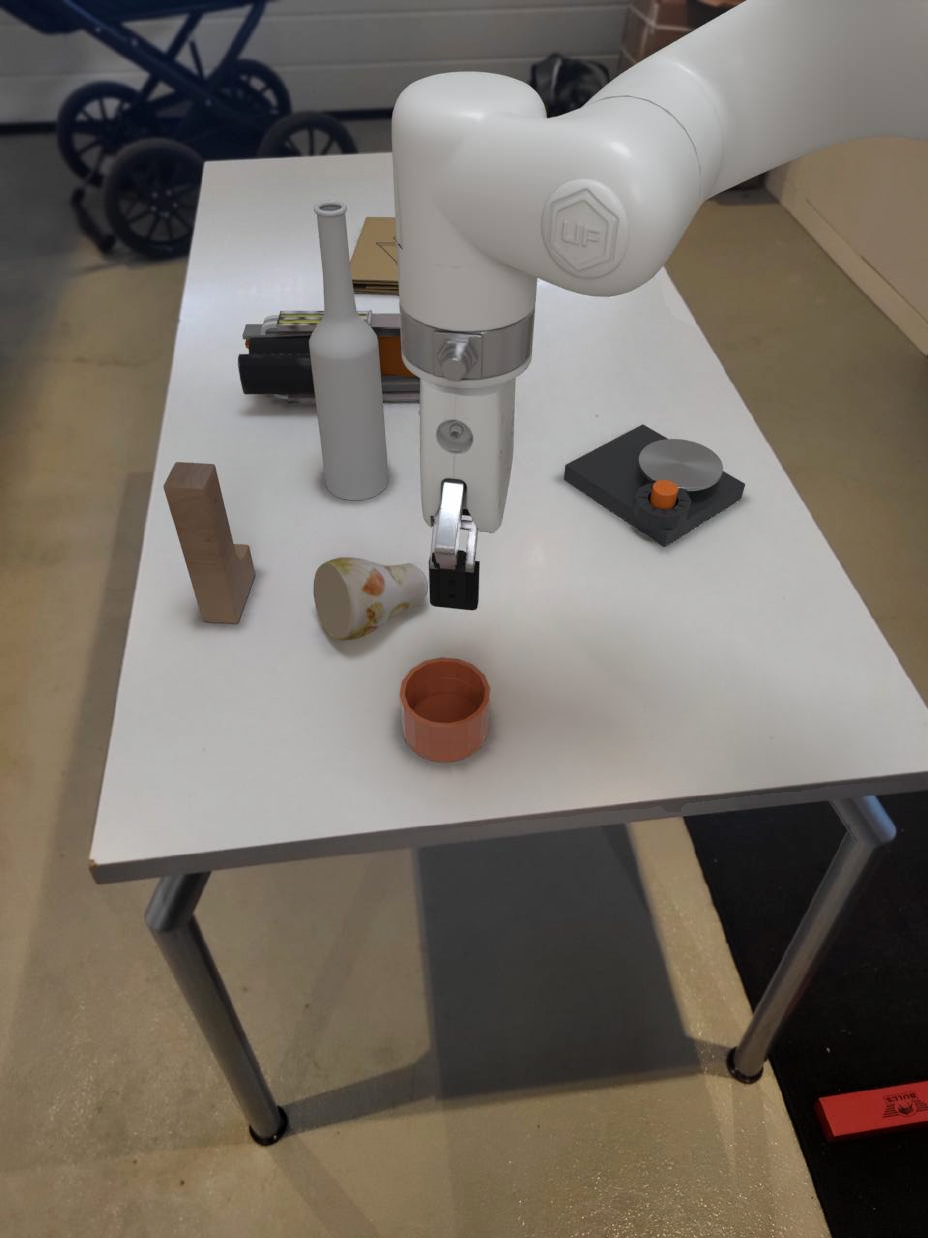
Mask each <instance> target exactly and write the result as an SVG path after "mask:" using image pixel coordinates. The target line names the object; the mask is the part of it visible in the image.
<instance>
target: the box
mask: <svg viewBox="0 0 928 1238" xmlns="http://www.w3.org/2000/svg"><path fill="white" fill-rule="evenodd" d="M350 268H351V277H352V284H353V290H354V294H368V295H369V294H370V295H388V296H389V295H390V296H391V295H392V296H399V283H398V263H397V243H396V222H395V216H366V217H365V218H364V222H363V225H362V227H361V230H360V234H359V236H358V239H357V242H356V245H355V247H354V250H353V253H352V256H351V258H350Z"/></svg>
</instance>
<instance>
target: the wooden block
mask: <svg viewBox="0 0 928 1238" xmlns="http://www.w3.org/2000/svg"><path fill="white" fill-rule="evenodd" d="M162 488H163V490H164V494H165V497H166V501H167V504H168V508H169V511H170V513H171V517H172V522H173V524H174V525H173V526H174V528H175V531H176V534H177V538H178V542H179V545H180V548H181V551H182V555H183V558H184V563H185V565H186V569H187V572H188V575H189V580H190V582H191V586H192V589H193V592H194V597H195V599H196V603H197V606H198V609H199V614H200V616H201V620H202V621H203V622H208V623H211V622H212V623H222V624H223V623H225V624H238V623H239V622H240V618H241V616H242V613H243V611H244V608H245V605H246V602H247V599H248V596H249V593H250V590H251V587H252V585H253V583H254V579H255V576H256V571H255V566H254V561H253V557H252V553H251V548H250V545H249V544H244V543H242V544H241V543H234V539H233V535H232V531H231V526H230V523H229V518H228V514H227V510H226V504H225V501H224V497H223V493H222V488H221V484H220V479H219V475H218V471H217V467H216V464H215V463H204V462H203V463H202V462H185V461H176V462H174V464H173V466H172V468H171V470H170V472H169V474H168V476H167V478H166V480H165V481H164V484H163V487H162Z"/></svg>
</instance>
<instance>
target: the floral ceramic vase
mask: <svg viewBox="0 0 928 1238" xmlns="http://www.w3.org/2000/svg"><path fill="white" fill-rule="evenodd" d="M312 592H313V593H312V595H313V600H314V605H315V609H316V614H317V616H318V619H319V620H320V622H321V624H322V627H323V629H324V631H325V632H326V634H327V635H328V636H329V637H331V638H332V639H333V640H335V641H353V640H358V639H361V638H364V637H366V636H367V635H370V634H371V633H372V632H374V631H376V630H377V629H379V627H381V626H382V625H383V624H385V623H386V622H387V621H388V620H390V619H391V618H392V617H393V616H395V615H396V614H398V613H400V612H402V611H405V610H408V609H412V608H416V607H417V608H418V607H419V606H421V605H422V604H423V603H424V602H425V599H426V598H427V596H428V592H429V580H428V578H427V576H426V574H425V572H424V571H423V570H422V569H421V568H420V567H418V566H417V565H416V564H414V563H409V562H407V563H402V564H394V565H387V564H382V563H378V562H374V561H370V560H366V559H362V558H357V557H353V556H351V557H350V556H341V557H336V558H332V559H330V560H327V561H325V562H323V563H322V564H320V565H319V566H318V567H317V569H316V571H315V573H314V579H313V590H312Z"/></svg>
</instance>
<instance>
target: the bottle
mask: <svg viewBox="0 0 928 1238" xmlns="http://www.w3.org/2000/svg"><path fill="white" fill-rule="evenodd" d="M347 211H348V205H347V204H346V203H345V202H343V201H341V200H336V199H327V200H322V201H318V202H317V203H315V204H314V206H313V212H314V214H316V221H317V231H318V232H317V233H318V240H319V251H320V260H321V271H322V287H323V290H322V291H323V311H324V317H323V319H322V320H321V321H320V323H319V324H318V325H317V327H316V328H315V329H314V331H313V333H312V335H311V337H310V340H309V347H310V356H311V365H312V373H313V382H314V390H315V398H316V403H315V405H316V414H317V422H318V432H319V439H320V448H321V457H322V464H323V473H324V481H325V487H326V489H327V491H328V492H329V493H330V494H331V495H333V496H334V497H337V498H338V499H342V500H347V501H363V500H368V499H371V498H373V497H376V496H378V495H380V494H381V493H382V492H384V491H385V490H386V488H387V487H388V484H389V467H388V450H387V437H386V427H385V414H384V413H385V411H384V401H383V398H382V385H381V372H380V360H379V347H378V339H377V335H376V334H375V332H374V331H373V329H372V328H371V327H370V326H369V325H368V324H367V323H366V322H365V321H364V320H363V319H362V318H361V317H360V316H359V315H358V313H357V311H358V310H357V304H356V298H355V297H356V296H355V293H354V290H353V284H352V277H351V268H350V261H351V258H350V248H349V238H348V237H349V236H348V226H347V216H346V213H347Z"/></svg>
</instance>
